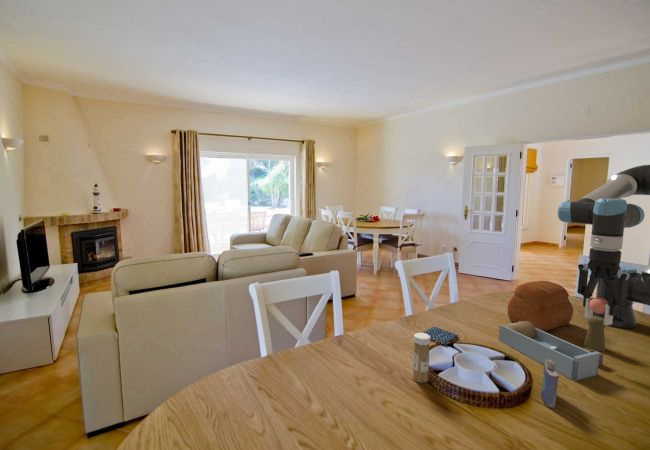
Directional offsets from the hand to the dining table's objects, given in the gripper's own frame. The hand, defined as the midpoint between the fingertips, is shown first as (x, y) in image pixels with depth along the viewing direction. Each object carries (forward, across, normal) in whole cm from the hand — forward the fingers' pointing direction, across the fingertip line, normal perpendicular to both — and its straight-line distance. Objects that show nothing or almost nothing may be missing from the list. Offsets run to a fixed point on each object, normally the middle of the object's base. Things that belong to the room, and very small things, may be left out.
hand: (597, 320), depth 106 cm
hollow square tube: (+14, 0, 0) cm, 14 cm away
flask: (+14, +8, -31) cm, 35 cm away
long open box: (+14, -8, -11) cm, 20 cm away
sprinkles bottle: (+14, -11, -58) cm, 61 cm away
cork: (+15, -7, +12) cm, 20 cm away
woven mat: (+15, -31, -35) cm, 49 cm away
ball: (-5, 0, 0) cm, 5 cm away
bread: (+15, -29, +13) cm, 35 cm away
